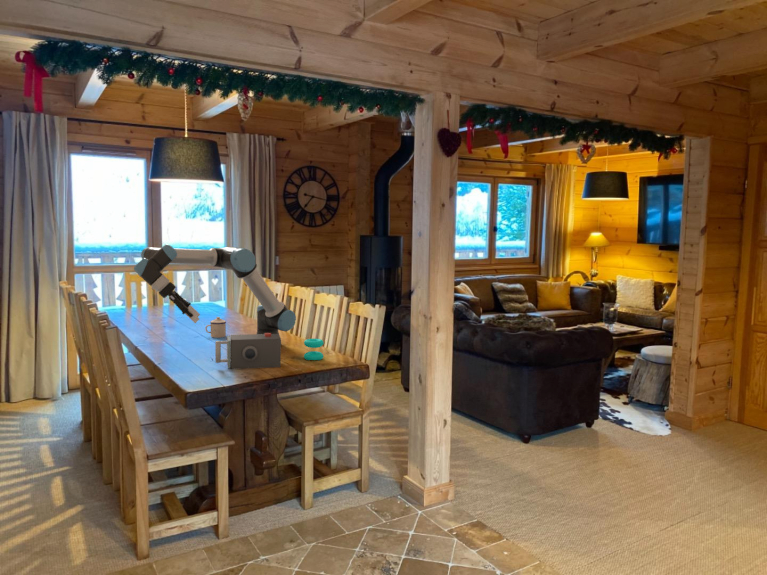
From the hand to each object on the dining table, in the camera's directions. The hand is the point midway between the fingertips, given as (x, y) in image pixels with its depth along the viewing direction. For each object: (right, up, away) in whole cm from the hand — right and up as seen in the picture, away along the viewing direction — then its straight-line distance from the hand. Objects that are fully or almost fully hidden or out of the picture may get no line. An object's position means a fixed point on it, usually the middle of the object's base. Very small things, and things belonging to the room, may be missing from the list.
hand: (197, 318), depth 287 cm
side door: (+10, -23, +6) cm, 25 cm away
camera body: (+25, -23, +9) cm, 35 cm away
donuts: (+51, -22, +26) cm, 62 cm away
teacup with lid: (-12, -15, +76) cm, 78 cm away
